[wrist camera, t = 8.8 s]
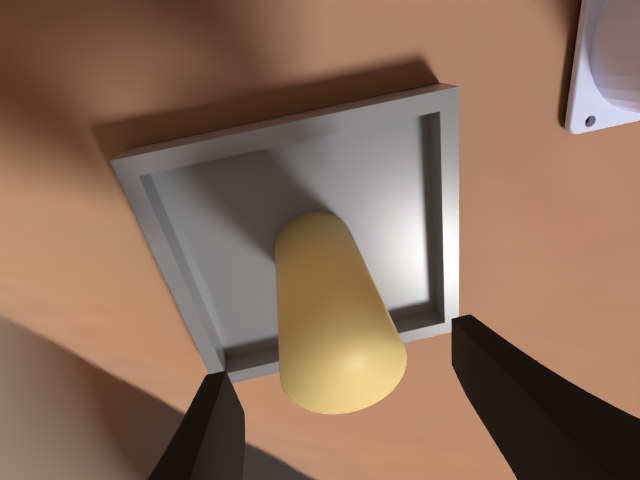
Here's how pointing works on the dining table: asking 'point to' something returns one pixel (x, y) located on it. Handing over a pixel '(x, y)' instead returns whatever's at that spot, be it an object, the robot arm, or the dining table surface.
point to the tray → (297, 198)
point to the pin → (331, 320)
